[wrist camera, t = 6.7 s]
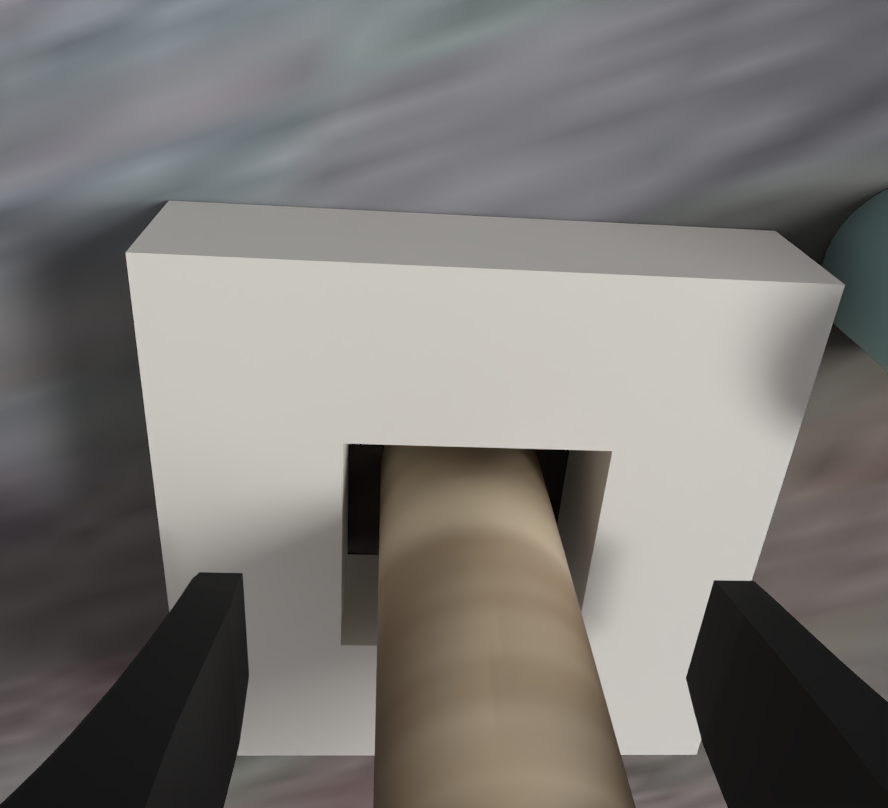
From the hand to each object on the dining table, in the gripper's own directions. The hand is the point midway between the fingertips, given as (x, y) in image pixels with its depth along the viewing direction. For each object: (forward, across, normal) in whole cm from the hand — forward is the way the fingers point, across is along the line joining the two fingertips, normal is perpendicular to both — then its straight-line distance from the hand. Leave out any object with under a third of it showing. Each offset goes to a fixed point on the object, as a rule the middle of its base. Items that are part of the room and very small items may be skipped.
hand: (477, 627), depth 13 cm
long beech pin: (+4, 0, 0) cm, 4 cm away
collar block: (+4, 0, 0) cm, 4 cm away
